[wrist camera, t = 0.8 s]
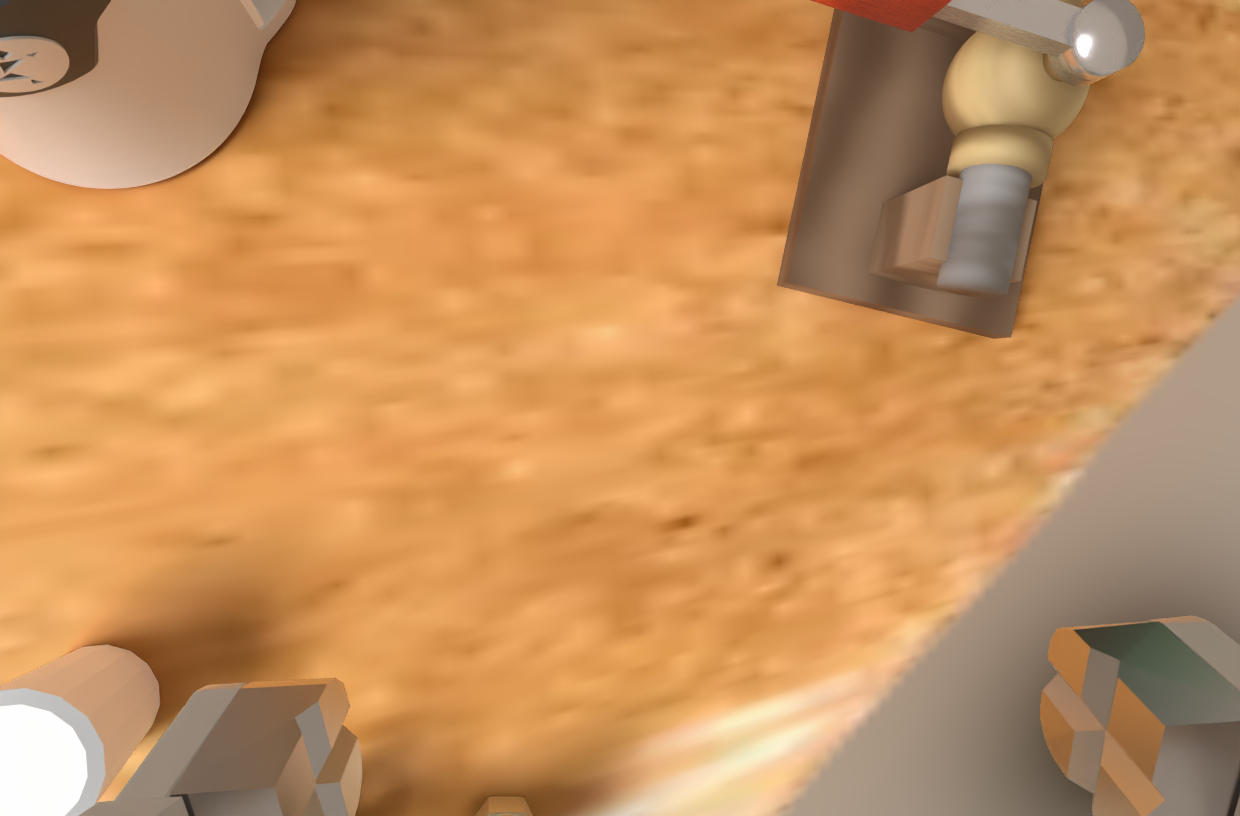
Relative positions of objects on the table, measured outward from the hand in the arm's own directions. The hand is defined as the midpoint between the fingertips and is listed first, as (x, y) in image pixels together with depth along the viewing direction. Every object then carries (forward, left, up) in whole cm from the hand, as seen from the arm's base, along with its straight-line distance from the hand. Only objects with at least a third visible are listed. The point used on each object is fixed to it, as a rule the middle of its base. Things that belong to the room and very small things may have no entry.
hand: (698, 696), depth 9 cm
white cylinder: (+4, -25, -33) cm, 41 cm away
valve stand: (-9, +27, -33) cm, 43 cm away
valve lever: (-12, +22, -21) cm, 33 cm away
